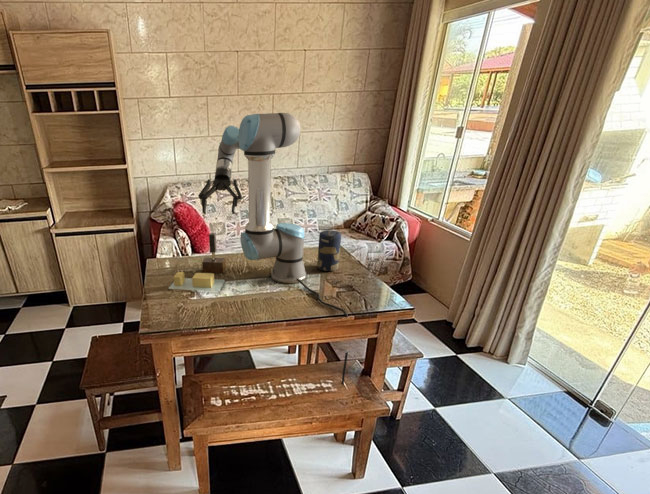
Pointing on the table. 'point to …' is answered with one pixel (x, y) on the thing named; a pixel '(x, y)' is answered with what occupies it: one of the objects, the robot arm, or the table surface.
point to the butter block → (203, 280)
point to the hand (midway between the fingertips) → (218, 212)
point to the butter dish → (189, 286)
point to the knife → (212, 245)
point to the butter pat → (179, 279)
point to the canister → (329, 250)
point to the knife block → (214, 265)
